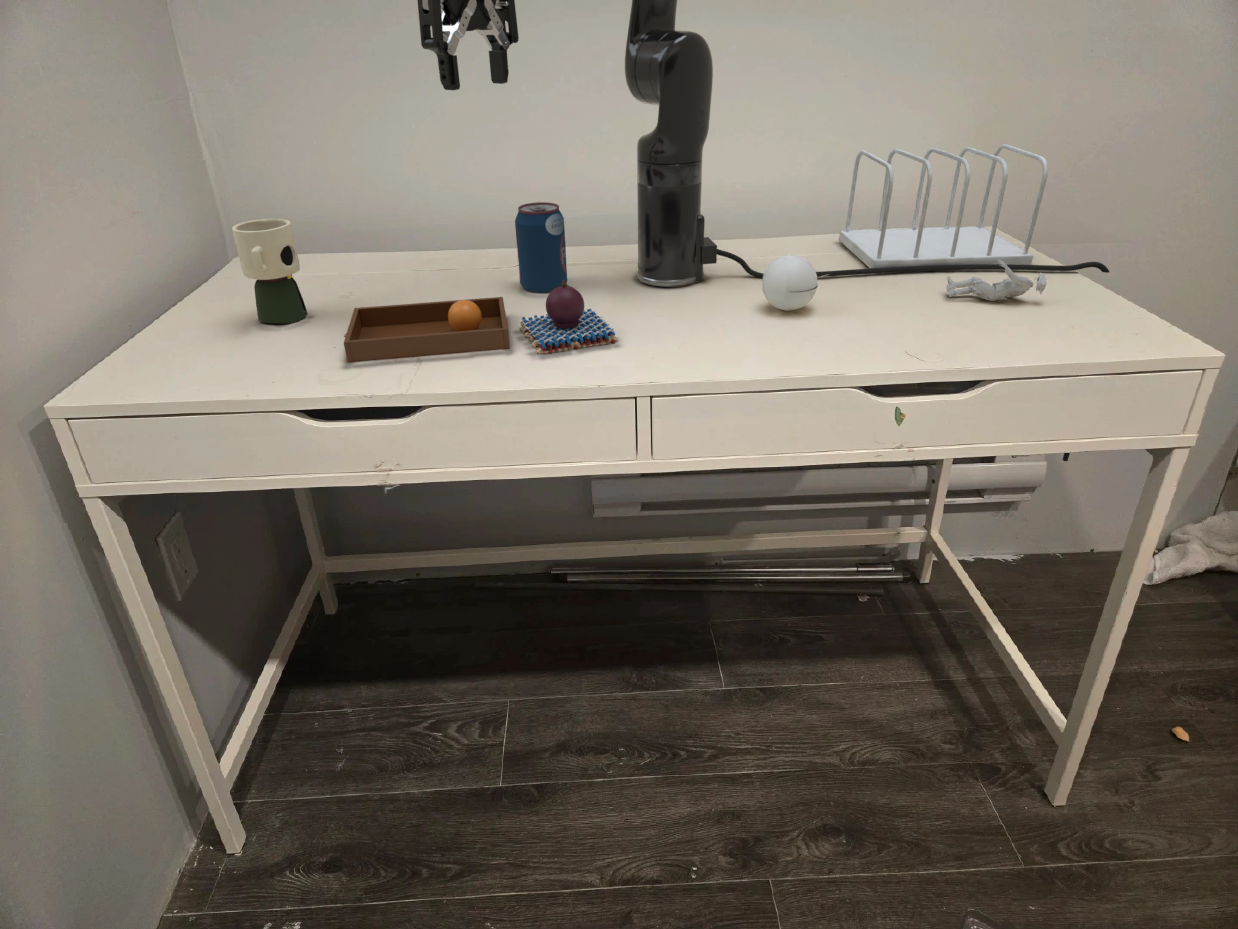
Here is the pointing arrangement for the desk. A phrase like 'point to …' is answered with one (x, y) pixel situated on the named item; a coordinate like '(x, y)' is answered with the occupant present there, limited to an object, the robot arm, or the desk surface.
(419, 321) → the tray
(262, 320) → the character mug
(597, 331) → the woven mat
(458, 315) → the apricot
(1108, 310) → the desk surface
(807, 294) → the seamed sphere
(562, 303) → the plum
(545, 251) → the soda can
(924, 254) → the file sorter
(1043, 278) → the soldier figure
